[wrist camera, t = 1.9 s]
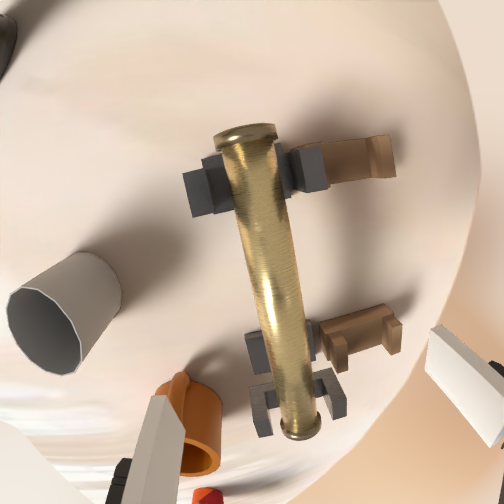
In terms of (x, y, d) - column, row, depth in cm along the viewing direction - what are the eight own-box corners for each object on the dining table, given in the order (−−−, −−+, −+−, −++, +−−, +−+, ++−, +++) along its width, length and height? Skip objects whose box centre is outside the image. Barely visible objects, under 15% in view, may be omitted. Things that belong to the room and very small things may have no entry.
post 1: (200, 160, 25) (177, 149, 14) (280, 143, 25) (315, 122, 14) (212, 213, 26) (198, 241, 15) (291, 196, 26) (331, 212, 15)
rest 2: (318, 322, 30) (332, 347, 25) (383, 303, 30) (404, 323, 25) (321, 348, 31) (334, 374, 26) (383, 329, 31) (402, 350, 26)
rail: (214, 139, 17) (210, 131, 14) (270, 128, 17) (279, 118, 14) (279, 417, 24) (284, 445, 20) (316, 408, 24) (325, 435, 20)
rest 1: (290, 149, 25) (303, 144, 20) (367, 139, 25) (392, 134, 20) (297, 187, 26) (312, 190, 21) (373, 174, 26) (399, 176, 21)
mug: (235, 368, 31) (237, 426, 22) (215, 429, 34) (214, 481, 25) (157, 351, 30) (138, 406, 21) (151, 416, 32) (139, 467, 24)
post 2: (242, 334, 30) (249, 410, 19) (310, 319, 30) (346, 386, 19) (252, 369, 31) (261, 445, 20) (315, 354, 31) (346, 424, 20)
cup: (118, 253, 26) (70, 292, 17) (126, 326, 28) (93, 383, 19) (53, 250, 26) (-3, 282, 16) (65, 318, 28) (21, 364, 18)
